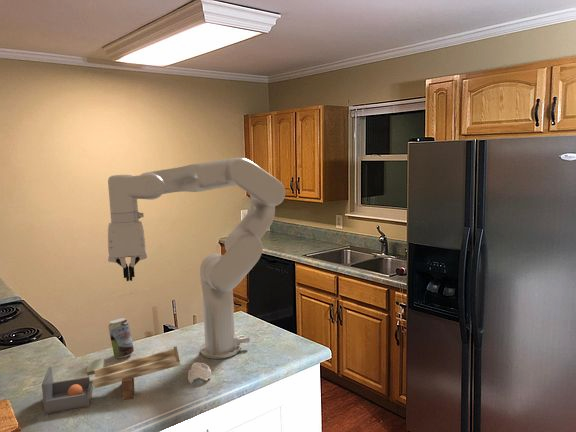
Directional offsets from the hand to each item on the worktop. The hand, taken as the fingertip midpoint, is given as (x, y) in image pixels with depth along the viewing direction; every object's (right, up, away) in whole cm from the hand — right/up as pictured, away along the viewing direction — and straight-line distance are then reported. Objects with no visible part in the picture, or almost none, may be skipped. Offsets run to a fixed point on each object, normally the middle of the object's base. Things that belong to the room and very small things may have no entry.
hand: (129, 279), depth 135 cm
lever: (+3, -24, -6) cm, 25 cm away
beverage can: (-6, -26, +12) cm, 29 cm away
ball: (-9, -27, -14) cm, 32 cm away
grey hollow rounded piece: (+21, -28, -4) cm, 35 cm away
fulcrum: (+3, -29, -10) cm, 31 cm away
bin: (-10, -30, -15) cm, 35 cm away
